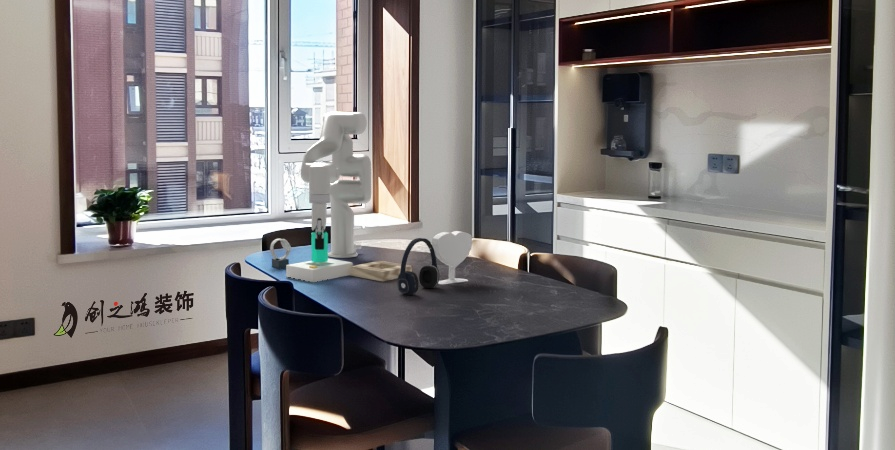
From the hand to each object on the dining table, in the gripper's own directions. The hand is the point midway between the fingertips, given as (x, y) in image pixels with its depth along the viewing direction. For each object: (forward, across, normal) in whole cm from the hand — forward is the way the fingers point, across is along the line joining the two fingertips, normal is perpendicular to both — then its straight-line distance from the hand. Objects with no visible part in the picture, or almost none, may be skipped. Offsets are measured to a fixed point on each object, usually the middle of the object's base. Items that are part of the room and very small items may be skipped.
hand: (319, 247), depth 319 cm
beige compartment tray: (+10, 0, +23) cm, 25 cm away
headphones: (+11, +28, +34) cm, 45 cm away
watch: (+11, -19, -15) cm, 26 cm away
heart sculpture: (+11, +12, +47) cm, 50 cm away
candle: (+5, 0, 0) cm, 5 cm away
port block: (+10, 0, 0) cm, 10 cm away
